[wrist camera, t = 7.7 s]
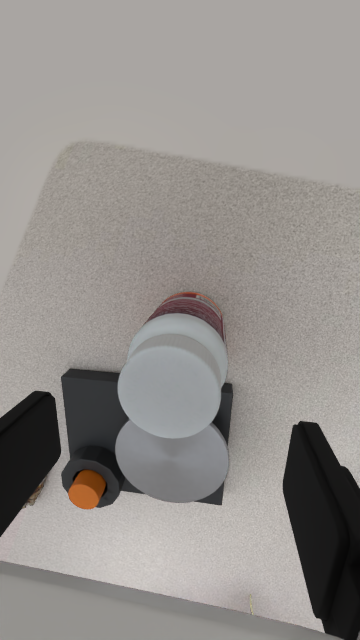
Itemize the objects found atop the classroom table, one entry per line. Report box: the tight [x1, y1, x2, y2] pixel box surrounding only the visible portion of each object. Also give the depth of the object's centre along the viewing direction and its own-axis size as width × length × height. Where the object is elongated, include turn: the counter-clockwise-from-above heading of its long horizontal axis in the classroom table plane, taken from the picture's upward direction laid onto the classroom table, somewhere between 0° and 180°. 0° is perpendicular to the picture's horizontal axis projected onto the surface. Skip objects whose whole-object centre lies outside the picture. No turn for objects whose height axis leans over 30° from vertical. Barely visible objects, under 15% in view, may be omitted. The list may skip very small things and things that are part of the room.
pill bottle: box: [118, 292, 228, 439], centre depth 18 cm, size 6×6×11 cm
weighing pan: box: [115, 419, 229, 503], centre depth 23 cm, size 10×10×1 cm
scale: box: [61, 369, 233, 508], centre depth 26 cm, size 16×13×4 cm
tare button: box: [68, 470, 106, 509], centre depth 25 cm, size 3×3×2 cm
